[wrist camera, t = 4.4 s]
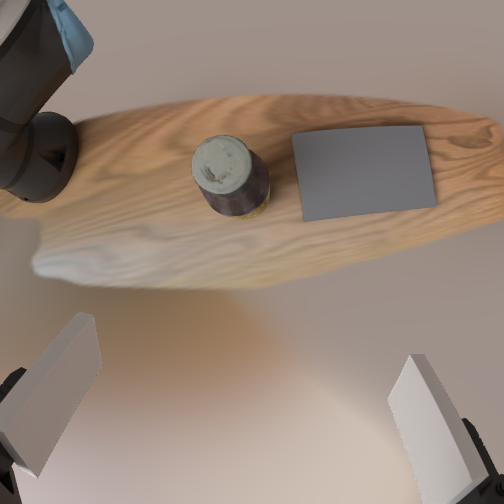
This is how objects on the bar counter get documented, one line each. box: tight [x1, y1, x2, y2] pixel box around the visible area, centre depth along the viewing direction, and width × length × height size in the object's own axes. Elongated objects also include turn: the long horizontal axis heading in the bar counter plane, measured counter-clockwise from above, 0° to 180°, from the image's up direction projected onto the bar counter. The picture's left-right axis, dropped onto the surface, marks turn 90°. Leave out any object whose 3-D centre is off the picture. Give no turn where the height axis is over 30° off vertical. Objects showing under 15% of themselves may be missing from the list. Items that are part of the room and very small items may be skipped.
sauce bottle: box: [191, 135, 270, 219], centre depth 29 cm, size 7×6×20 cm
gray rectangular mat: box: [291, 126, 436, 222], centre depth 37 cm, size 18×11×2 cm, turn 98°
